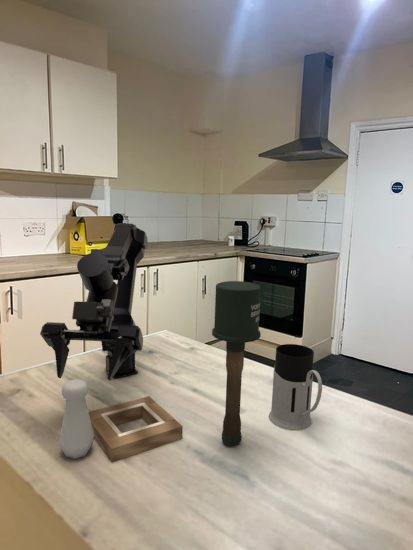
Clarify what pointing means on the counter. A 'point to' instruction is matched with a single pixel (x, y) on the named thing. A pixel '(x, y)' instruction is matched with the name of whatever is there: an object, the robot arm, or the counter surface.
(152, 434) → the socket board
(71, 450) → the salt shaker
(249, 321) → the potato masher grenade
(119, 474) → the counter surface
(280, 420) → the glass holder
